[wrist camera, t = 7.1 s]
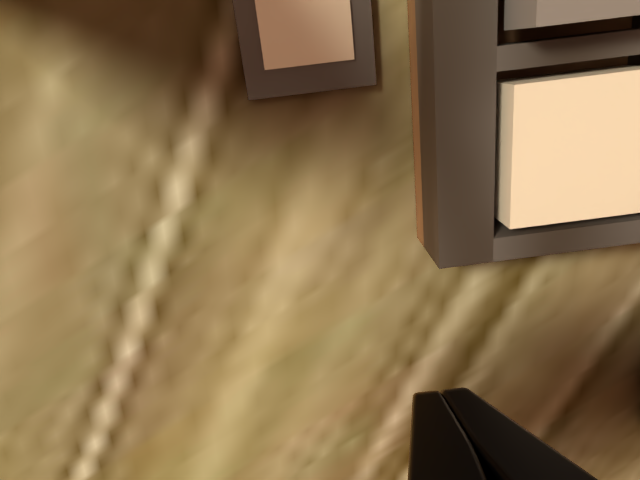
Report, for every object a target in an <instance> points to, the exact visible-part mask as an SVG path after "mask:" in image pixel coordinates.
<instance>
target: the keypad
mask: <svg viewBox="0 0 640 480" xmlns="http://www.w3.org/2000/svg"><path fill="white" fill-rule="evenodd" d="M504 3H505V0H407V4H408V27H409V51H410V75H411V99H412V122H413V146H414V170H415V193H416V217H417V238H418V239H419V241H420V242H421V244H422V245H423V246H424V248H425V249H426V251H427V252H428V253H429V255H430V256H431V258H432V259H433V261H434V262H435V263H436V265H437V266H438V268H439V269H442V268H449V267H457V266H465V265H473V264H480V263H488V262H496V261H504V260H511V259H519V258H527V257H535V256H542V255H550V254H558V253H566V252H573V251H581V250H589V249H597V248H604V247H612V246H620V245H628V244H635V243H640V213H633V214H626V215H618V216H610V217H602V218H594V219H587V220H579V221H571V222H563V223H555V224H547V225H540V226H532V227H524V228H516V229H509V228H508V227H506V226H505V225H504V224H503V223H501V222H500V221H499V220H498V219H496V218H495V217H494V186H495V131H496V80H502V79H511V78H519V77H527V76H535V75H543V74H552V73H560V72H568V71H576V70H584V69H593V68H601V67H609V66H617V65H637V66H640V15H635V16H627V17H618V18H610V19H602V20H593V21H585V22H577V23H568V24H560V25H552V26H543V27H535V28H525V29H515V30H505V31H504Z"/></svg>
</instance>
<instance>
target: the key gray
mask: <svg viewBox="0 0 640 480" xmlns="http://www.w3.org/2000/svg"><path fill="white" fill-rule="evenodd" d="M635 15H640V0H505V3H504V31H505V30H515V29H525V28H535V27H543V26H552V25H560V24H568V23H577V22H585V21H593V20H602V19H610V18H618V17H627V16H635Z"/></svg>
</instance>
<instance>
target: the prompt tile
mask: <svg viewBox="0 0 640 480" xmlns="http://www.w3.org/2000/svg"><path fill="white" fill-rule="evenodd" d="M233 6H234V12H235V19H236V25H237V31H238V38H239V44H240V50H241V56H242V63H243V69H244V75H245V82H246V88H247V94H248V100H255V99H263V98H271V97H280V96H288V95H296V94H304V93H313V92H321V91H329V90H337V89H345V88H354V87H362V86H370V85H377V84H376V69H375V54H374V39H373V24H372V9H371V0H233Z"/></svg>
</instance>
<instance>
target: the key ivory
mask: <svg viewBox="0 0 640 480" xmlns="http://www.w3.org/2000/svg"><path fill="white" fill-rule="evenodd" d="M633 213H640V66H637V65H617V66H609V67H601V68H593V69H584V70H576V71H568V72H560V73H552V74H543V75H535V76H527V77H519V78H511V79H502V80H496V131H495V186H494V217H495V218H496V219H498V220H499V221H500V222H501V223H503V224H504V225H505V226H506V227H508V228H509V229H516V228H524V227H532V226H540V225H547V224H555V223H563V222H571V221H579V220H587V219H594V218H602V217H610V216H618V215H626V214H633Z"/></svg>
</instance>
